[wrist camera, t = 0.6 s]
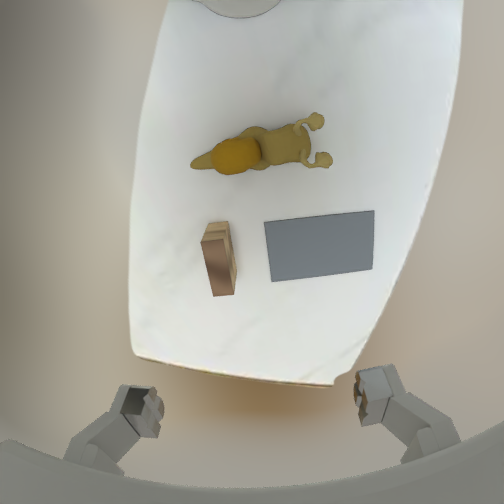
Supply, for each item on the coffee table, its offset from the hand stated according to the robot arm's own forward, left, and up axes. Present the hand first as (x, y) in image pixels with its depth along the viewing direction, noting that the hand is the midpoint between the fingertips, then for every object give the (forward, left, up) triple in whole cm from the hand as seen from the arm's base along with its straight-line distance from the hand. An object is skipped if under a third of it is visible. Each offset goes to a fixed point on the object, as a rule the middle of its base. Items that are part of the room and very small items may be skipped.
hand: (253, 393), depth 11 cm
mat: (+15, +10, -42) cm, 45 cm away
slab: (+13, -8, -42) cm, 44 cm away
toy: (-4, 0, -42) cm, 42 cm away
